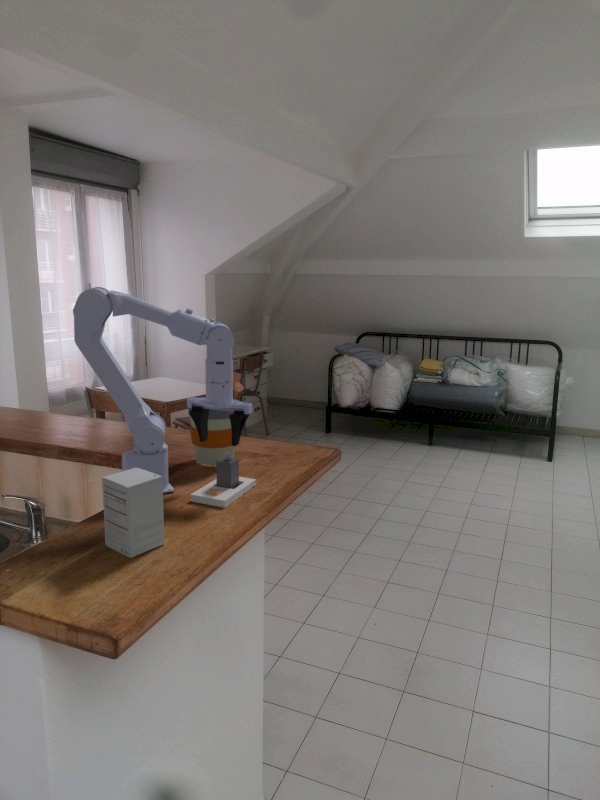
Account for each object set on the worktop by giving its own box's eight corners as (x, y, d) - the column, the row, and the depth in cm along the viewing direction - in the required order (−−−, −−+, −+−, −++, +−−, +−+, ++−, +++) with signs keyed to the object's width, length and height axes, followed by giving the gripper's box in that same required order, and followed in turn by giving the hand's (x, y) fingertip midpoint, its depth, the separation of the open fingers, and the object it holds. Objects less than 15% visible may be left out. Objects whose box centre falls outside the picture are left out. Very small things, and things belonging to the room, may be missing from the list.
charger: (231, 495, 132) (231, 456, 131) (216, 492, 134) (216, 454, 132) (238, 489, 136) (238, 452, 134) (224, 487, 137) (224, 450, 135)
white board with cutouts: (224, 507, 125) (224, 497, 125) (190, 501, 128) (190, 491, 128) (255, 485, 138) (255, 476, 138) (223, 480, 141) (223, 471, 141)
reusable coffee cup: (246, 466, 151) (247, 406, 148) (195, 472, 146) (194, 409, 143) (232, 452, 162) (232, 395, 159) (184, 456, 158) (183, 398, 154)
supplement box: (139, 532, 113) (137, 466, 111) (165, 544, 109) (164, 475, 106) (103, 546, 108) (100, 476, 105) (129, 559, 103) (127, 486, 100)
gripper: (179, 381, 131) (180, 443, 134) (242, 387, 126) (242, 451, 129) (195, 375, 138) (196, 435, 140) (256, 381, 133) (256, 442, 136)
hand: (219, 442), depth 135 cm, fingers open, 7 cm apart
